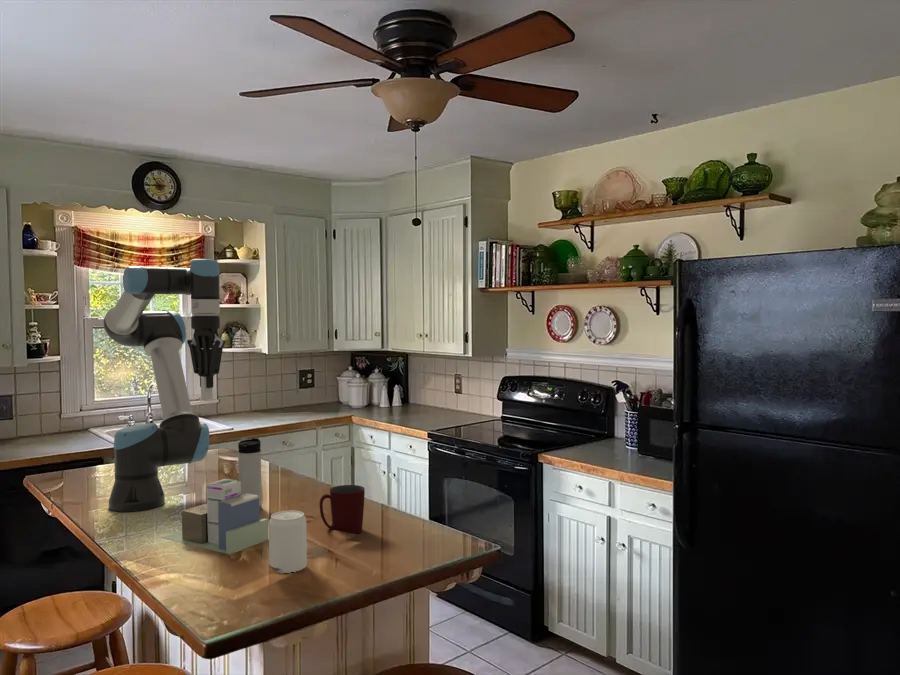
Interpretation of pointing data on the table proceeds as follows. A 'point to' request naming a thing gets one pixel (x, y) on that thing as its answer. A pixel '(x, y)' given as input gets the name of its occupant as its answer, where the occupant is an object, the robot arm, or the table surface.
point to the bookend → (195, 524)
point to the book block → (236, 514)
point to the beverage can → (288, 541)
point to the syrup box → (214, 495)
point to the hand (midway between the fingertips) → (206, 399)
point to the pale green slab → (233, 537)
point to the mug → (345, 508)
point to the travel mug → (250, 467)
